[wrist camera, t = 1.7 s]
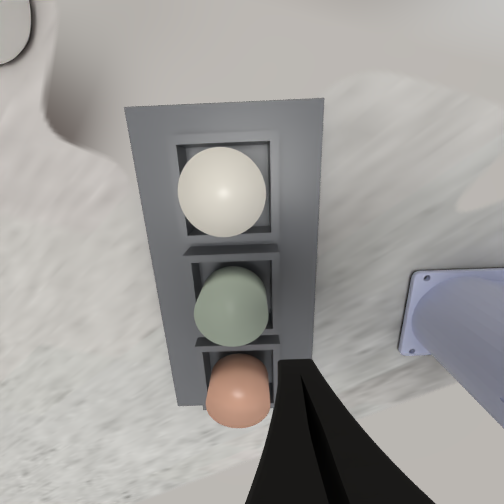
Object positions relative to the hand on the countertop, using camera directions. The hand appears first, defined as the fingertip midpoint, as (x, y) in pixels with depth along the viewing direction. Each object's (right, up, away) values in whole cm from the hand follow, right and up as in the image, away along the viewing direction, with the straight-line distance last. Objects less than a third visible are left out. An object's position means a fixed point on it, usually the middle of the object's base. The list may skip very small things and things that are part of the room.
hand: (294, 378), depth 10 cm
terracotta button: (-3, -4, +9) cm, 10 cm away
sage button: (-3, +2, +7) cm, 8 cm away
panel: (-3, +3, +10) cm, 11 cm away
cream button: (-3, +9, +5) cm, 10 cm away
